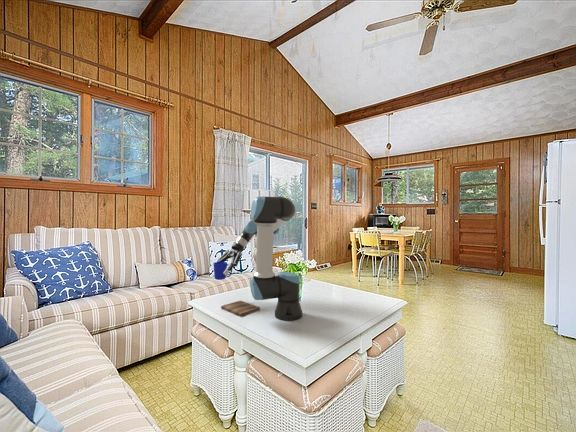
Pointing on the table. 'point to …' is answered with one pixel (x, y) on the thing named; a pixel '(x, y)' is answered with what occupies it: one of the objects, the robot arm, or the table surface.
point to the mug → (220, 270)
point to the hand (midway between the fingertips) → (219, 273)
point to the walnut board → (240, 308)
